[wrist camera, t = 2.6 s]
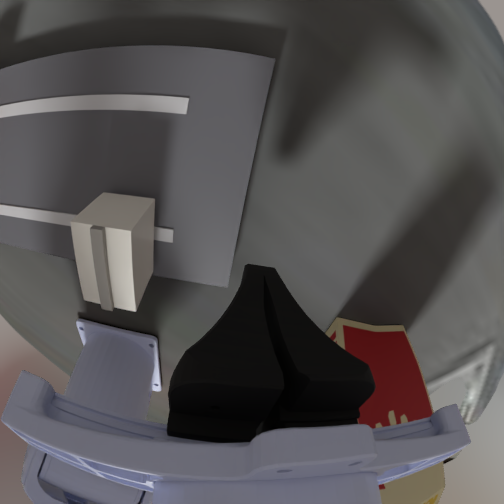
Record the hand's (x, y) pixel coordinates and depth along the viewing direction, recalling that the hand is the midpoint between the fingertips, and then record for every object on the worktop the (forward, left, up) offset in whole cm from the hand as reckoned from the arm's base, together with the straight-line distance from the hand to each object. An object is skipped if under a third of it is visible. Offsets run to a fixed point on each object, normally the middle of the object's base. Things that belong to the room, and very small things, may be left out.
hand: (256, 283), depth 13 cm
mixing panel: (+3, +14, -5) cm, 15 cm away
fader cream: (0, +7, -3) cm, 8 cm away
